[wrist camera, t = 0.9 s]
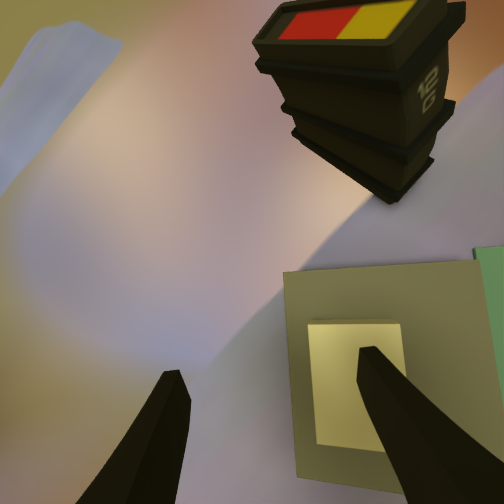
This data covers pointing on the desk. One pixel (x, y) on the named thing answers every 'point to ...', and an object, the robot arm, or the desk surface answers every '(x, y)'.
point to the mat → (494, 300)
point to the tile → (347, 377)
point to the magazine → (364, 82)
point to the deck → (414, 348)
